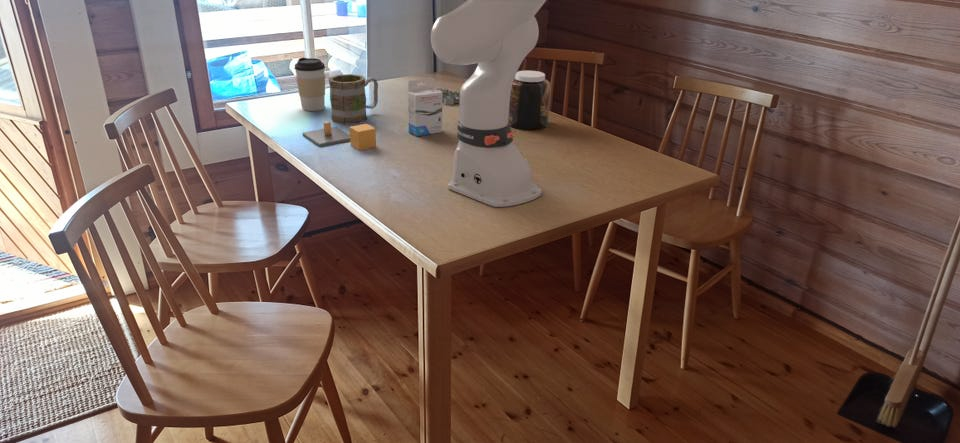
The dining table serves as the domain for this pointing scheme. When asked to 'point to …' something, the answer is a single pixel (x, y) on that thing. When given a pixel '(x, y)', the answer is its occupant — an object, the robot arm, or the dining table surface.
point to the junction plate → (327, 135)
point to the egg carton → (450, 96)
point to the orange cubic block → (362, 136)
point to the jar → (529, 101)
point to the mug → (350, 98)
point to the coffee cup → (311, 83)
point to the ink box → (424, 107)
